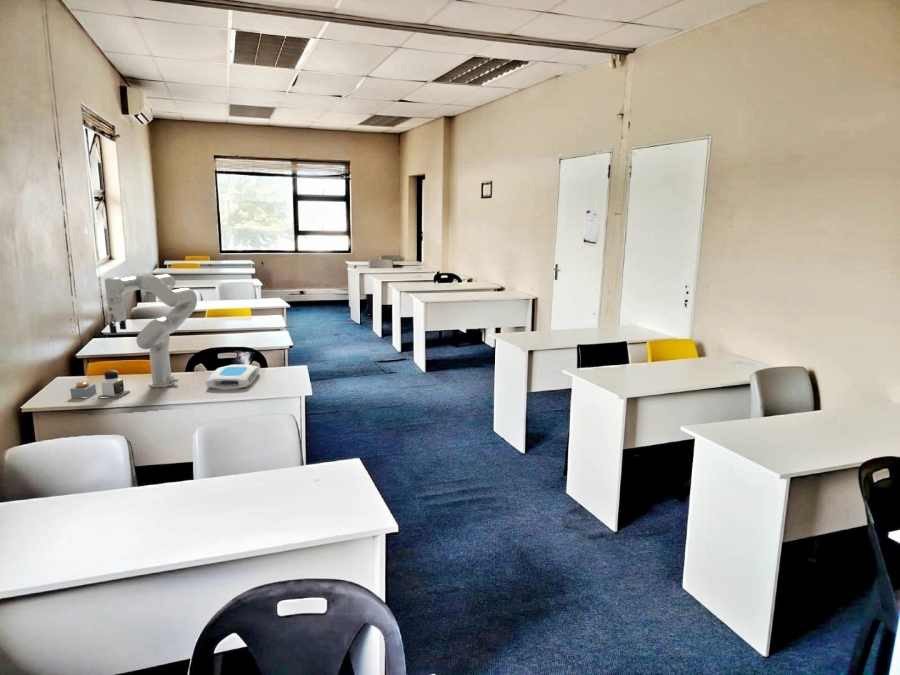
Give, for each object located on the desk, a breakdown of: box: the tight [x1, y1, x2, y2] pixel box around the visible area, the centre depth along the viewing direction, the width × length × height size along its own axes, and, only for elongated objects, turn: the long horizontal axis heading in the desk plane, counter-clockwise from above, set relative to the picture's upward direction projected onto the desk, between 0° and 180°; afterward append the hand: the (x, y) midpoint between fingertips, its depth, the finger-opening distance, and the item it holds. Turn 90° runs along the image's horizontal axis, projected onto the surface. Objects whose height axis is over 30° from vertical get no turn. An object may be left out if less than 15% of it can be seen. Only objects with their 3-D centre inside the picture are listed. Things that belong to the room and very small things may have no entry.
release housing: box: [69, 383, 97, 399], centre depth 304 cm, size 8×8×5 cm
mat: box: [98, 390, 131, 399], centre depth 306 cm, size 11×10×1 cm
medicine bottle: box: [100, 370, 125, 396], centre depth 304 cm, size 7×7×12 cm
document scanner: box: [205, 364, 260, 390], centre depth 331 cm, size 21×28×6 cm
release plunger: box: [75, 381, 90, 388], centre depth 304 cm, size 6×6×7 cm
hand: (118, 331), depth 323 cm, fingers open, 9 cm apart
